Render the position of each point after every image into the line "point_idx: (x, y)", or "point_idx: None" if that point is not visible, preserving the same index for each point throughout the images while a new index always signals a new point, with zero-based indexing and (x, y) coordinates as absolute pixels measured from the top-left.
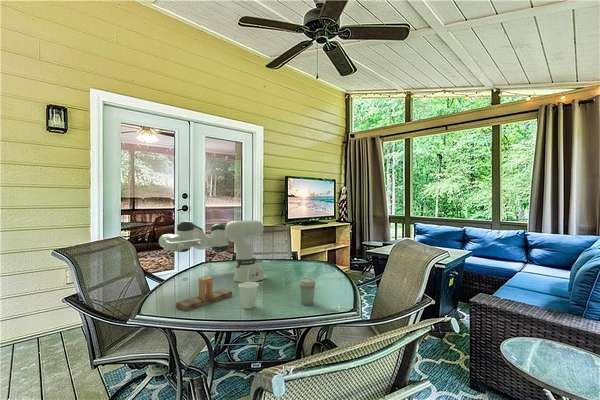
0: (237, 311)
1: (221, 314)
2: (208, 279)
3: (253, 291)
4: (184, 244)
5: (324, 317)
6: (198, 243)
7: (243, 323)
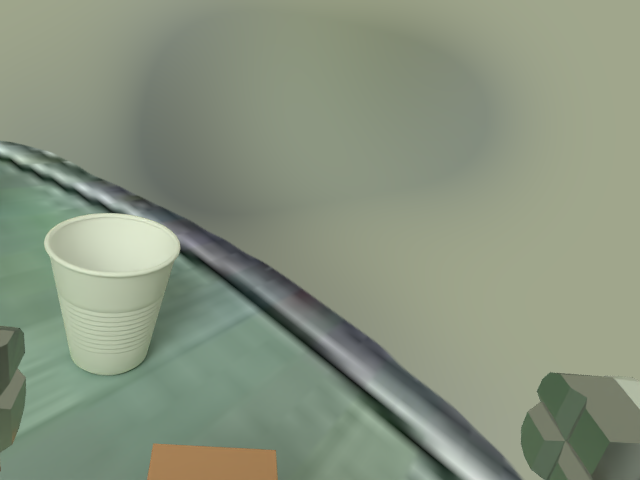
0: (197, 358)
1: (277, 387)
2: (207, 450)
3: (133, 243)
4: (585, 386)
5: (72, 176)
6: (19, 344)
7: (276, 291)
